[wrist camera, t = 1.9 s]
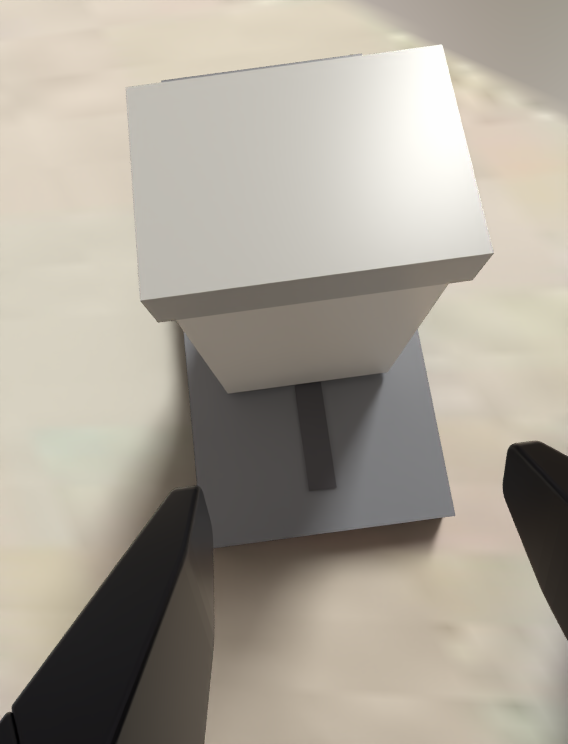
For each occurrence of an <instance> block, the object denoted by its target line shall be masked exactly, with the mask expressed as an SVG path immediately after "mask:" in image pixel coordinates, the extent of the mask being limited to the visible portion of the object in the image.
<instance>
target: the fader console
mask: <svg viewBox="0 0 568 744" xmlns="http://www.w3.org/2000/svg"><path fill="white" fill-rule="evenodd" d="M361 55H362V54H355V55H348V56H341V57H333V58H326V59H318V60H311V61H304V62H296V63H289V64H281V65H274V66H266V67H259V68H252V69H244V70H237V71H229V72H222V73H215V74H207V75H200V76H192V77H185V78H178V79H170V80H163V81H162V82H169V81H176V80H183V79H191V78H198V77H206V76H213V75H220V74H228V73H235V72H243V71H250V70H257V69H265V68H272V67H280V66H287V65H294V64H302V63H309V62H317V61H324V60H332V59H339V58H346V57H354V56H361ZM184 342H185V353H186V364H187V376H188V387H189V398H190V410H191V421H192V432H193V444H194V455H195V467H196V478H197V486H199V487H200V488H201V489H202V491H203V494H204V498H205V501H206V505H207V509H208V513H209V516H210V520H211V524H212V531H213V548H219V547H226V546H234V545H241V544H249V543H256V542H264V541H271V540H279V539H286V538H293V537H301V536H308V535H316V534H323V533H331V532H338V531H346V530H353V529H360V528H368V527H375V526H383V525H390V524H398V523H405V522H413V521H420V520H427V519H435V518H442V517H450V516H455V512H454V507H453V502H452V497H451V492H450V487H449V482H448V477H447V472H446V467H445V462H444V457H443V452H442V447H441V442H440V437H439V432H438V428H437V423H436V418H435V413H434V408H433V403H432V398H431V393H430V388H429V383H428V378H427V373H426V368H425V363H424V358H423V353H422V349H421V344H420V339H419V334H418V329H417V330H416V332H415V333H414V335H413V336H412V337H411V339H410V340H409V342H408V343H407V345H406V346H405V348H404V349H403V351H402V352H401V353H400V355H399V356H398V358H397V359H396V361H395V362H394V364H393V365H392V366H391V368H390V369H389V371H388V372H385V373H378V374H370V375H363V376H356V377H348V378H341V379H333V380H326V381H318V382H311V383H304V384H296V385H289V386H281V387H274V388H266V389H259V390H252V391H244V392H237V393H229V394H228V393H227V392H226V390H225V389H224V387H223V386H222V385H221V383H220V382H219V380H218V379H217V378H216V376H215V375H214V373H213V372H212V371H211V369H210V368H209V366H208V365H207V363H206V362H205V361H204V359H203V358H202V356H201V355H200V354H199V352H198V351H197V349H196V348H195V346H194V345H193V344H192V342H191V341H190V339H189V338H188V337H187V335H186V334H185V332H184Z"/></svg>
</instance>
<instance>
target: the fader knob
mask: <svg viewBox="0 0 568 744" xmlns="http://www.w3.org/2000/svg"><path fill="white" fill-rule="evenodd" d="M126 100H127V114H128V129H129V144H130V159H131V173H132V188H133V203H134V218H135V232H136V247H137V262H138V276H139V291H140V301H141V302H142V303H143V305H144V306H145V307H146V308H147V310H148V311H149V312H150V313H151V314H152V316H153V317H154V318H155V319H156V321H157V322H158V323H159V322H166V321H173V320H176V321H177V322H178V324H179V325H180V327H181V328H182V330H183V331H184V332H185V334H186V335H187V337H188V338H189V339H190V341H191V342H192V344H193V345H194V346H195V348H196V349H197V351H198V352H199V354H200V355H201V356H202V358H203V359H204V361H205V362H206V363H207V365H208V366H209V368H210V369H211V371H212V372H213V373H214V375H215V376H216V378H217V379H218V380H219V382H220V383H221V385H222V386H223V387H224V389H225V390H226V392H227V393H228V394H229V393H237V392H244V391H252V390H259V389H266V388H274V387H281V386H289V385H296V384H304V383H311V382H318V381H326V380H333V379H341V378H348V377H356V376H363V375H370V374H378V373H385V372H388V371H389V369H390V368H391V366H392V365H393V364H394V362H395V361H396V359H397V358H398V356H399V355H400V353H401V352H402V351H403V349H404V348H405V346H406V345H407V343H408V342H409V340H410V339H411V337H412V336H413V335H414V333H415V332H416V330H417V329H418V327H419V326H420V324H421V323H422V322H423V320H424V319H425V317H426V316H427V314H428V313H429V311H430V310H431V308H432V307H433V306H434V304H435V303H436V301H437V300H438V298H439V297H440V295H441V294H442V293H443V291H444V290H445V288H446V287H447V285H448V284H449V283H456V282H463V281H470V280H473V279H474V278H475V276H476V275H477V274H478V272H479V271H480V270H481V269H482V267H483V266H484V265H485V264H486V262H487V261H488V260H489V259H490V257H491V256H492V255H493V253H494V251H493V247H492V243H491V239H490V235H489V231H488V227H487V223H486V219H485V215H484V211H483V207H482V203H481V199H480V195H479V191H478V187H477V183H476V179H475V175H474V171H473V167H472V163H471V159H470V155H469V151H468V147H467V143H466V139H465V135H464V131H463V127H462V123H461V119H460V115H459V111H458V107H457V103H456V99H455V95H454V91H453V87H452V83H451V79H450V75H449V71H448V66H447V62H446V58H445V54H444V50H443V46H442V45H435V46H428V47H420V48H413V49H406V50H398V51H391V52H383V53H376V54H369V55H361V56H354V57H346V58H339V59H332V60H324V61H317V62H309V63H302V64H294V65H287V66H280V67H272V68H265V69H257V70H250V71H243V72H235V73H228V74H220V75H213V76H206V77H198V78H191V79H183V80H176V81H169V82H161V83H154V84H146V85H139V86H132V87H126Z"/></svg>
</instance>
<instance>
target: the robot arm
mask: <svg viewBox="0 0 568 744" xmlns="http://www.w3.org/2000/svg"><path fill="white" fill-rule="evenodd" d="M503 494H504V498H505V501H506V503H507V506H508V508H509V511H510V513H511V516H512V518H513V521H514V523H515V526H516V528H517V531H518V533H519V536H520V538H521V541H522V543H523V546H524V548H525V551H526V553H527V556H528V558H529V561H530V563H531V566H532V568H533V571H534V573H535V576H536V578H537V581H538V583H539V585H540V588H541V590H542V592H543V594H544V596H545V598H546V600H547V602H548V604H549V606H550V608H551V610H552V612H553V614H554V616H555V618H556V620H557V622H558V624H559V625H560V627H561V629H562V631H563V633H564V635H565V637H566V639H567V640H568V456H566V455H564V454H563V453H561V452H559V451H557V450H555V449H553V448H552V447H550V446H548V445H546V444H544V443H542V442H540V441H528V442H521V443H514V444H512V445H511V446H510V447H509V448H508V451H507V457H506V464H505V471H504V478H503ZM213 647H214V563H213V531H212V524H211V520H210V516H209V513H208V509H207V505H206V501H205V498H204V494H203V491H202V489H201V488H200V487H199V486H188V487H181V488H176V489H173V490H172V491H171V492H170V493H169V495H168V496H167V497H166V499H165V500H164V501H163V503H162V504H161V505H160V507H159V508H158V509H157V511H156V512H155V513H154V515H153V516H152V518H151V519H150V520H149V522H148V523H147V524H146V526H145V527H144V528H143V530H142V531H141V532H140V534H139V535H138V536H137V538H136V539H135V540H134V542H133V543H132V544H131V546H130V547H129V549H128V550H127V551H126V553H125V554H124V555H123V557H122V558H121V559H120V561H119V562H118V563H117V565H116V566H115V567H114V569H113V570H112V571H111V573H110V574H109V575H108V577H107V578H106V580H105V581H104V582H103V584H102V585H101V586H100V588H99V589H98V590H97V592H96V593H95V594H94V596H93V597H92V598H91V600H90V601H89V602H88V604H87V605H86V606H85V608H84V609H83V611H82V612H81V613H80V615H79V616H78V617H77V619H76V620H75V621H74V623H73V624H72V625H71V627H70V628H69V629H68V631H67V632H66V633H65V635H64V636H63V637H62V639H61V640H60V642H59V643H58V644H57V646H56V647H55V648H54V650H53V651H52V652H51V654H50V655H49V656H48V658H47V659H46V660H45V662H44V663H43V664H42V666H41V667H40V668H39V670H38V671H37V673H36V674H35V675H34V677H33V678H32V679H31V681H30V682H29V683H28V685H27V686H26V687H25V689H24V690H23V691H22V693H21V694H20V695H19V697H18V698H17V699H16V701H15V702H14V704H13V705H12V712H8V713H6V714H5V715H4V717H3V718H2V719H1V721H0V744H204V740H205V730H206V720H207V710H208V699H209V689H210V679H211V669H212V659H213Z"/></svg>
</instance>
